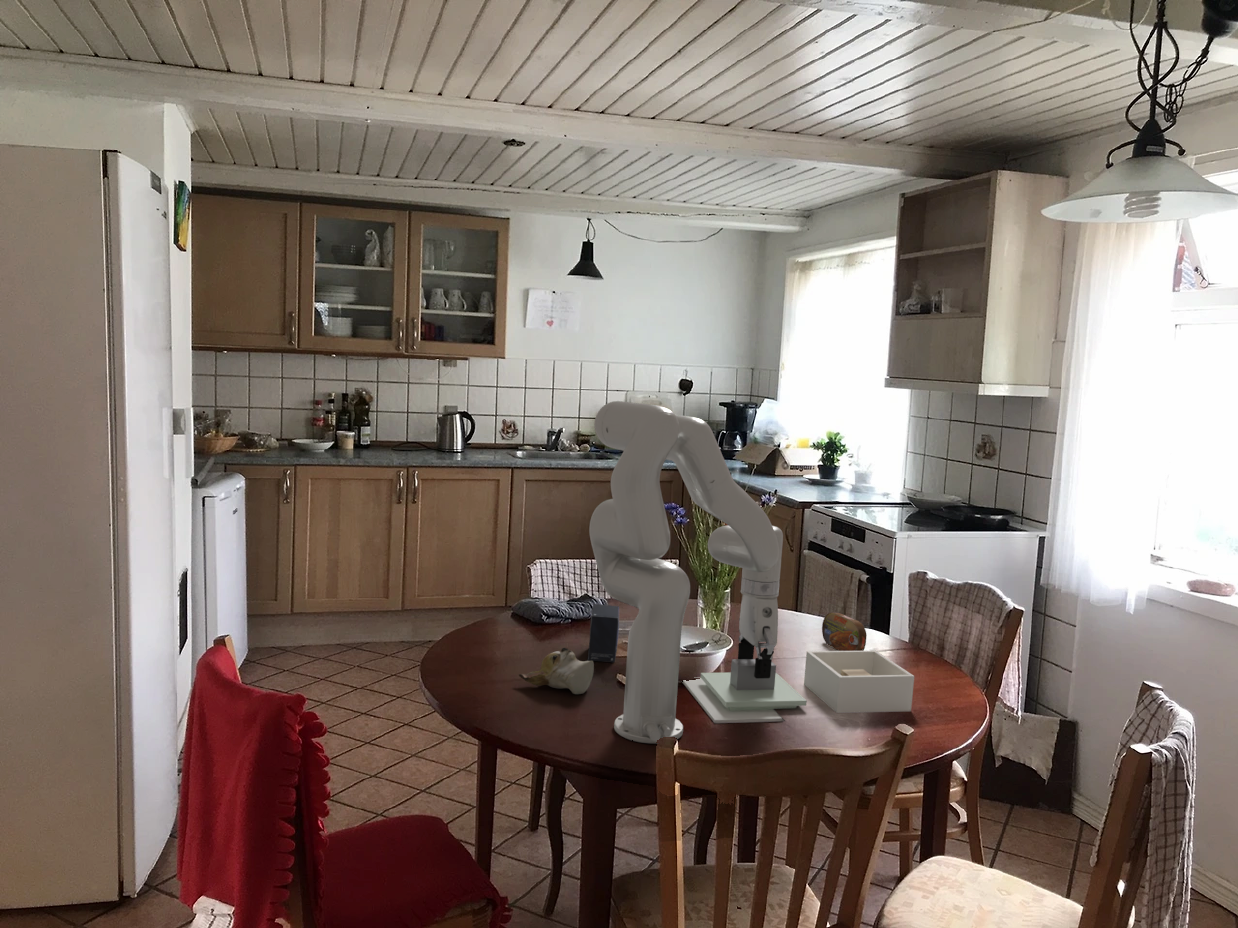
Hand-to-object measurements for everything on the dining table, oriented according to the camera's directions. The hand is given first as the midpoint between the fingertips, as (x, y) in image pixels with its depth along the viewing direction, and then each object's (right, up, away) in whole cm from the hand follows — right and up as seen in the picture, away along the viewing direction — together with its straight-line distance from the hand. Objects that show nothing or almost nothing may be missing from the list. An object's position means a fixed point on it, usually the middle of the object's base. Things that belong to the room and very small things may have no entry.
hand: (753, 669), depth 189 cm
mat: (0, -6, +1) cm, 6 cm away
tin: (+27, -4, +38) cm, 47 cm away
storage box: (+22, -7, +4) cm, 23 cm away
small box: (-31, -2, +24) cm, 39 cm away
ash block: (+22, -6, +3) cm, 23 cm away
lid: (0, -6, +1) cm, 6 cm away
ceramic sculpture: (-39, -4, +1) cm, 39 cm away
